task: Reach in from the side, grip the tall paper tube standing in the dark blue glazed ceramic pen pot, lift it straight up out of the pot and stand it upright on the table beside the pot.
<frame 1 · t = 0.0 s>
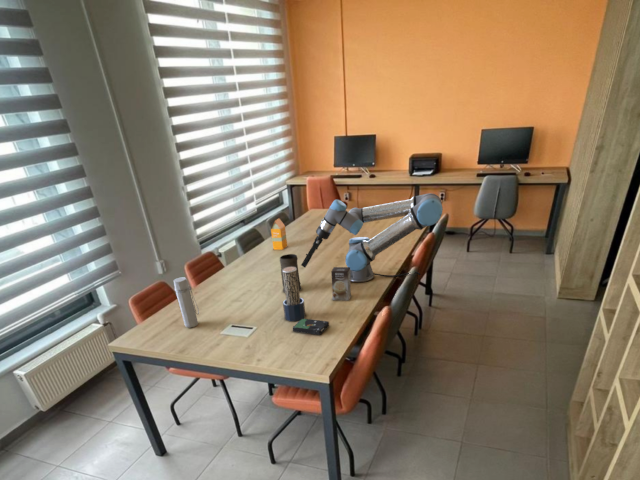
hand: (305, 262, 253), 15 cm above the table, tool tilted 35°, fingers open, 13 cm apart
pen pot: (295, 317, 231), on the table
water bottle: (193, 325, 239), on the table
orange juice: (280, 248, 334), on the table
disk drive: (311, 329, 218), on the table
paper tube: (295, 317, 231), resting in pen pot
beer stein: (293, 288, 264), on the table
coffee box: (341, 298, 244), on the table
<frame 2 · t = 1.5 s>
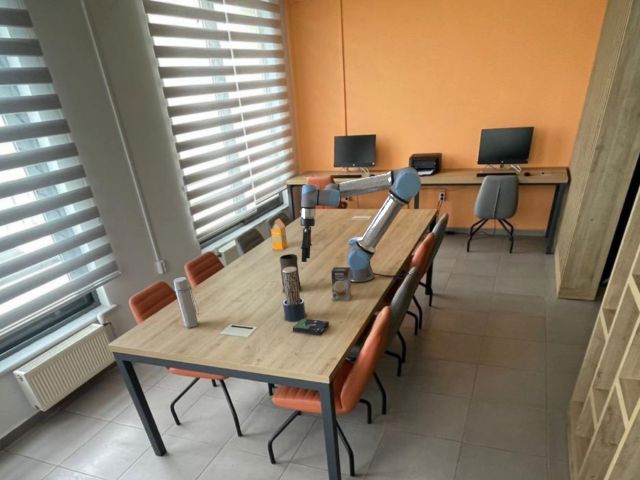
hand: (305, 260, 244), 19 cm above the table, tool pointing down, fingers open, 13 cm apart
nothing on the table moved.
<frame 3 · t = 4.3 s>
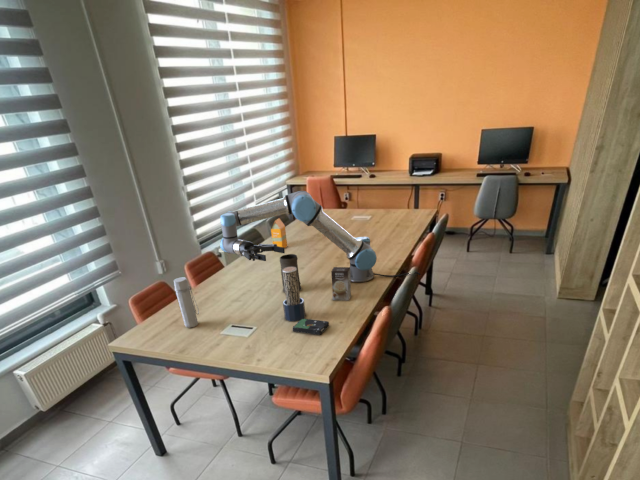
hand: (274, 254, 220), 31 cm above the table, tool horizontal, fingers open, 13 cm apart
nothing on the table moved.
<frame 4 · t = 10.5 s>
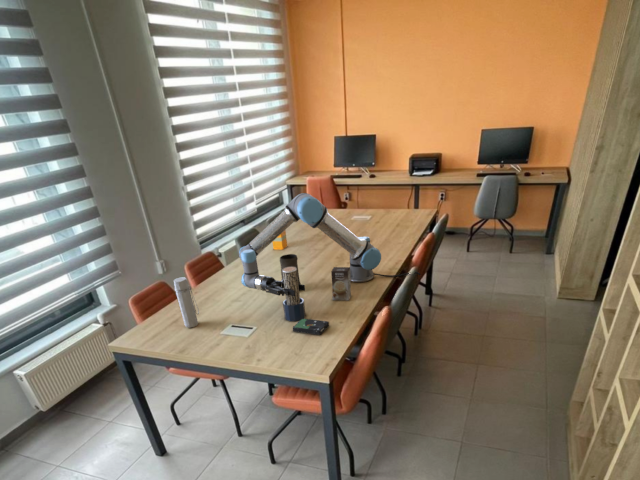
hand: (299, 290, 220), 15 cm above the table, tool horizontal, fingers closed on paper tube, 7 cm apart
paper tube: (295, 317, 231), resting in pen pot, touching gripper
everything else where it was.
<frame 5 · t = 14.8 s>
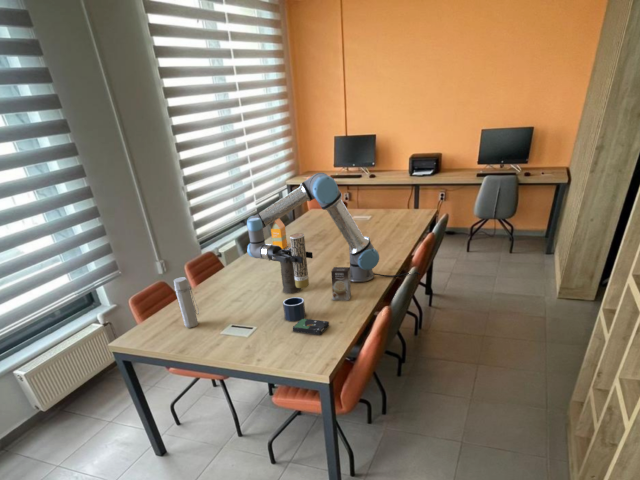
hand: (307, 257, 216), 29 cm above the table, tool horizontal, fingers closed on paper tube, 7 cm apart
paper tube: (302, 286, 227), point 14 cm above the table, touching gripper
everything else where it was.
when the fingers open (15 cm above the table, at t = 19.4 s): paper tube stays where it is, on the table.
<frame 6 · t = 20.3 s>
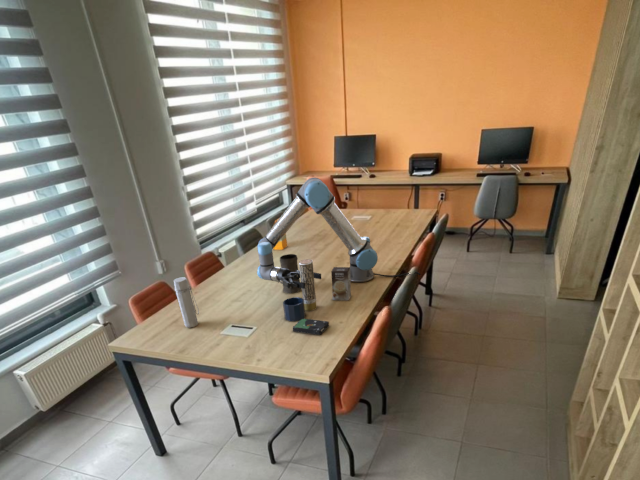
hand: (312, 281, 227), 16 cm above the table, tool horizontal, fingers open, 13 cm apart
paper tube: (310, 309, 238), on the table
everything else where it was.
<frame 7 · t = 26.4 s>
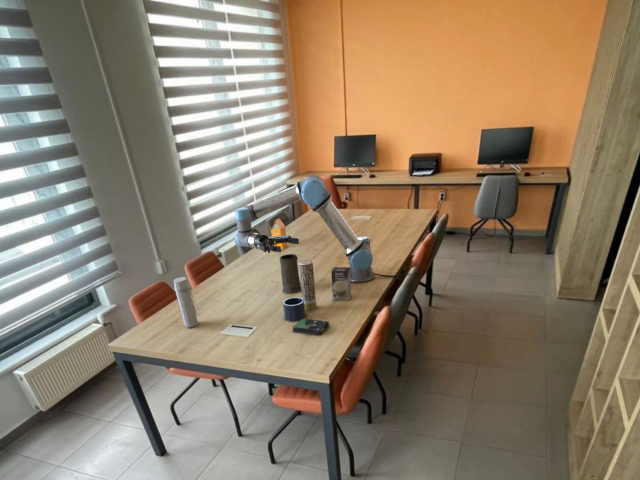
hand: (289, 245, 225), 32 cm above the table, tool horizontal, fingers open, 13 cm apart
nothing on the table moved.
at the end: paper tube inside the target area (0.1 cm from its centre), on the table; paper tube tilted 0°; the gripper is holding nothing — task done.
